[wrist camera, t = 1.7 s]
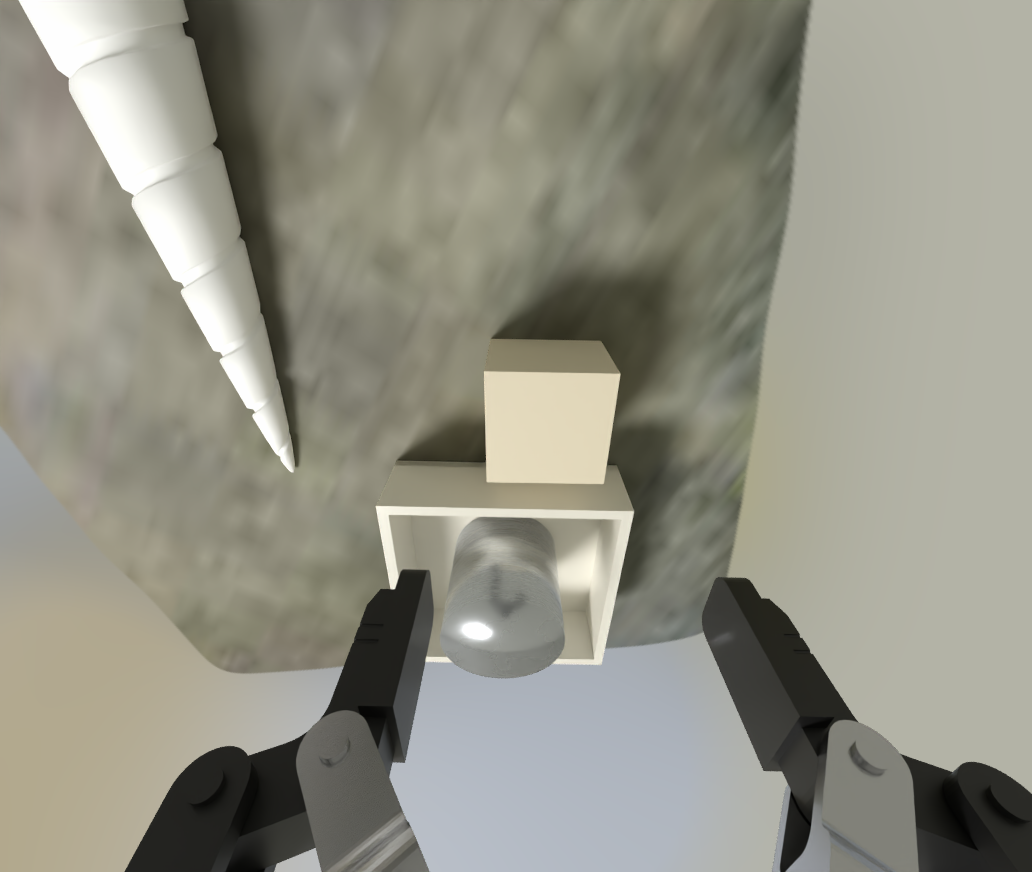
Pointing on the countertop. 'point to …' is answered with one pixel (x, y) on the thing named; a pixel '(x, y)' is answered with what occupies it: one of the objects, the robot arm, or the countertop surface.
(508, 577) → the tin can
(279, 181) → the countertop surface
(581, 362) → the carton
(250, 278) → the unicorn horn
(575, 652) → the box
